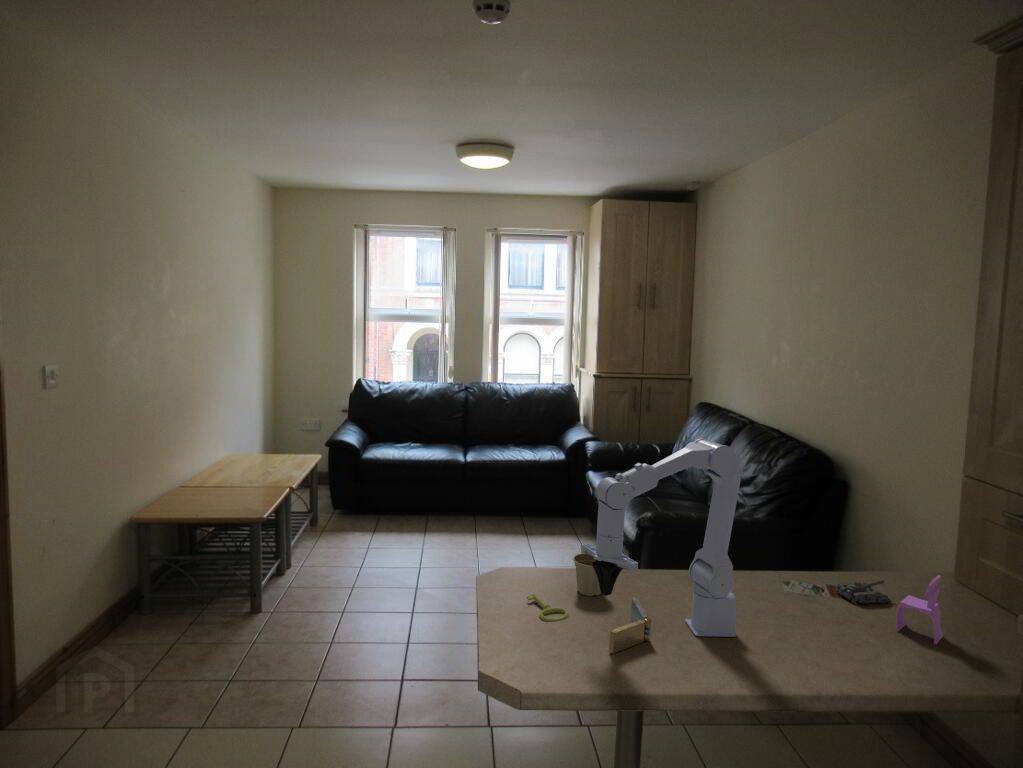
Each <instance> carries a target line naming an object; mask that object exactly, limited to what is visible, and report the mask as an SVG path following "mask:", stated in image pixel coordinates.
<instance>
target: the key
mask: <svg viewBox="0 0 1023 768" xmlns="http://www.w3.org/2000/svg"><path fill="white" fill-rule="evenodd" d="M526 599H527V600H528V601H532V600H534V601H535V602H536V603H537V604H538V605H539V606H540V607H541V608H542V610H541V611H540V612H539V615H538V617H539V618H540V620H542V621H545V622H558V621H562V620H565V619H567V618H568V617H569V612H568V610H567V609H565V608H563V607H551V606H550V605H549V604H547V603H545V602H544V601H543V600H542V599H541V598H540V596H539V595H537V594H536V593H533V594H532V595H528V596H526ZM554 613H559V614H560V613H561V614H563V615H561V616H558V617H548V616H545V615H547V614H554Z"/></svg>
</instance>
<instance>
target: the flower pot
mask: <svg viewBox="0 0 1023 768" xmlns="http://www.w3.org/2000/svg"><path fill="white" fill-rule="evenodd" d="M572 561H573V562H574V566H575V573H576V574H575V575H576V587H577V590H576V591H577V592H578V593H580V594H581V595H584V596H586V597H593V596H600V595H602V594H601V591H600V586H599V581H598V577H597V575H596V572H595V570H594V568H593V566H592V562H595V561H596V559H594V557H593V556H591V555H588V554H582V553H581V552H580V553H578V554H575V555H574V556H573V557H572Z"/></svg>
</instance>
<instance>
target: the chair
mask: <svg viewBox="0 0 1023 768" xmlns="http://www.w3.org/2000/svg"><path fill="white" fill-rule="evenodd" d="M941 579H942V575H940V574H938V575H937V576H936V577H934V578H933V579H932V580H931V581H930V582H929V584H928V586H927V587H926V591H925V593H924V595H923V597H924V598H925V599H927V600H924V599H921V598H918V597H916V596H913V595H907V596H905V598H904V599H903V600H901V601H899V605H898V606H897V608H896V613H895V632H896V633H898V632H899V631H900V630H901V629H903V628H904V627H905V626H906V621H905V616H904V609H905V608H906V609H911V610H914V611H917V612H920V613H922V614H925V615H927V616H929V617H930V618H931V619H930V620H931V622H932V628H933V644H934V645H935V646H936V645H937V644H938V643H939V642H940V641H941V639H942V638H943V637H944V635H943V632H942V627H941V626H942V625H941V611H940V608H939V603H938V602H937V600H938V597H939V592H940V589H941V587H940V586H939V583H940V580H941Z"/></svg>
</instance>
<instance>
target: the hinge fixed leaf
mask: <svg viewBox="0 0 1023 768" xmlns="http://www.w3.org/2000/svg"><path fill="white" fill-rule="evenodd" d="M630 607H631V608H630V609H631V610H630V618H631V621H632V623H633V622H636V621H639V620H642V618H644V617H647V618H649V617H648V615H647V613H646V611H645V609H644V607H643V606H642V604H641V602H640V600H639V599H638V598H637V597H632V598H631V606H630ZM651 629H652V627H651V628H650V629H645V628H644V633H645V634H649V633H650V634H651Z"/></svg>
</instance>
